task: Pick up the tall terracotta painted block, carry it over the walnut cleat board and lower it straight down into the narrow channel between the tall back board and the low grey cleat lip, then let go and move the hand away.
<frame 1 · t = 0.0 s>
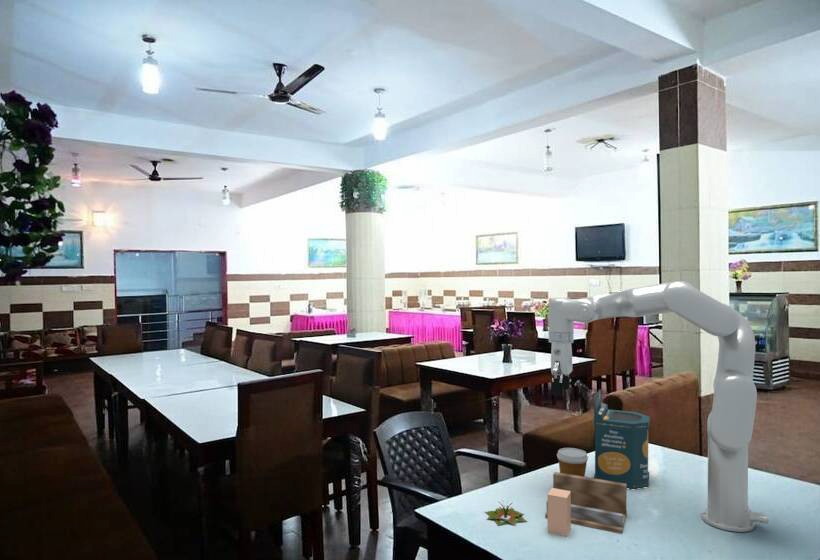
hand: (560, 392, 168), 31 cm above the table, tool pointing down, fingers open, 9 cm apart
disposable coffee cup: (572, 490, 170), on the table
donation box: (622, 479, 179), on the table
terracotta block: (559, 530, 143), on the table
cleat board: (586, 516, 152), on the table
lily flower: (505, 519, 151), on the table
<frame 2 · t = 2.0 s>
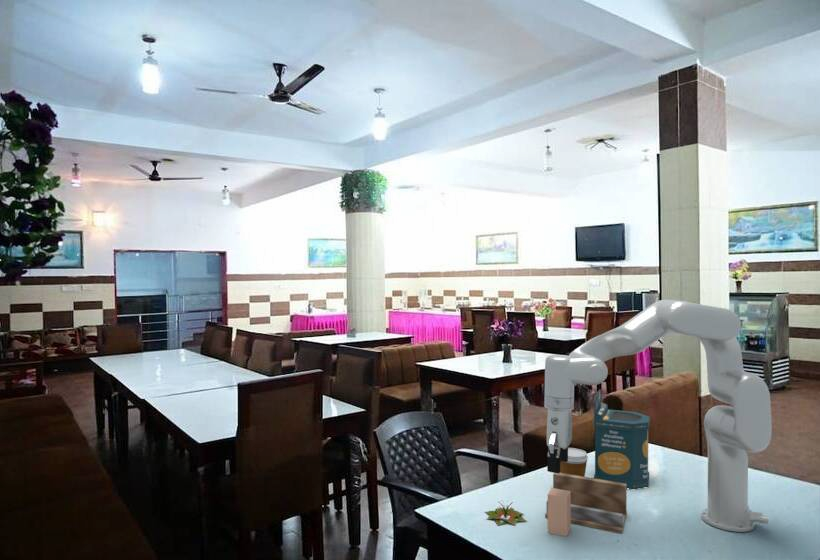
hand: (557, 466, 143), 17 cm above the table, tool pointing down, fingers open, 9 cm apart
nothing on the table moved.
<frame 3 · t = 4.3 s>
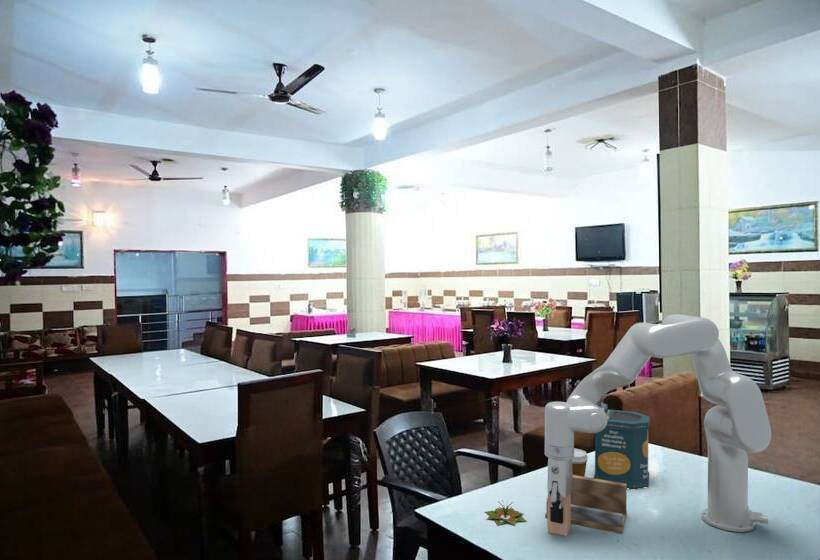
hand: (559, 517, 143), 3 cm above the table, tool pointing down, fingers closed on terracotta block, 5 cm apart
terracotta block: (559, 530, 143), on the table, touching gripper
everything else where it was.
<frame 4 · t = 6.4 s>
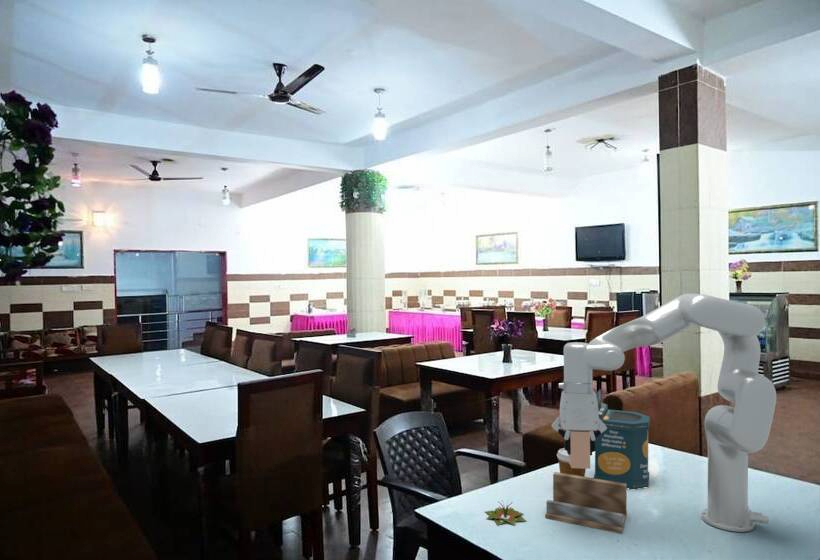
hand: (579, 452, 149), 19 cm above the table, tool pointing down, fingers closed on terracotta block, 5 cm apart
terracotta block: (579, 465, 149), point 15 cm above the table, touching gripper
everything else where it was.
when the fingers open (6 cm above the table, at t = 9.0 s): terracotta block drops 1 cm, resting on cleat board.
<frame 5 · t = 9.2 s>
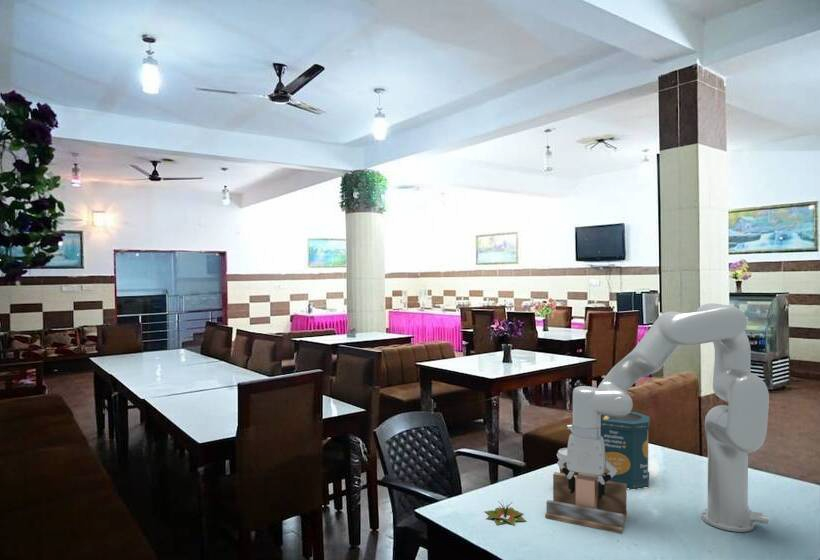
hand: (586, 493, 152), 6 cm above the table, tool pointing down, fingers open, 7 cm apart
terracotta block: (586, 512, 152), point 1 cm above the table, touching cleat board
everything else where it was.
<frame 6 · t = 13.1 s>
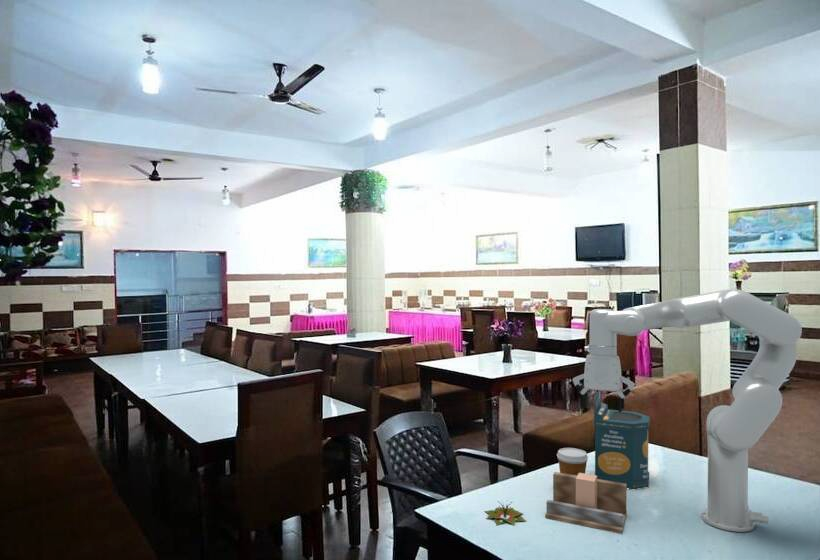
hand: (602, 409, 159), 28 cm above the table, tool pointing down, fingers open, 9 cm apart
nothing on the table moved.
at the end: terracotta block inside the target area on the cleat board (0.1 cm from its centre), point 1.0 cm above the cleat board's base; terracotta block tilted 0°; the gripper is holding nothing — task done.
